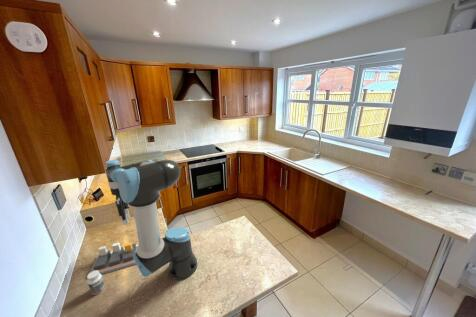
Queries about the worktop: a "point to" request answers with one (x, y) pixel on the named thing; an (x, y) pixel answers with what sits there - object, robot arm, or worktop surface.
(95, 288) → the pill bottle
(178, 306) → the worktop surface
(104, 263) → the panel
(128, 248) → the block
